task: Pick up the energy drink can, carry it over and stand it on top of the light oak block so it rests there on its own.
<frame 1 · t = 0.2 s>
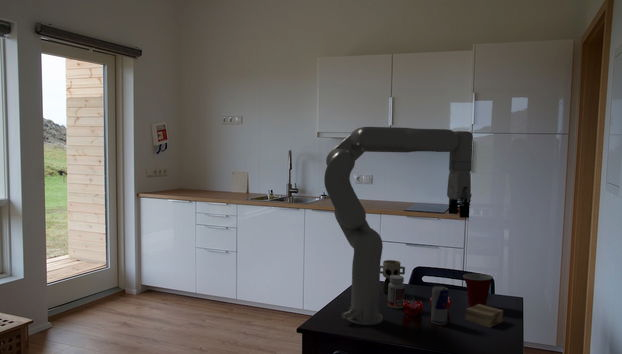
hand: (458, 215, 167), 36 cm above the table, tool pointing down, fingers open, 9 cm apart
energy drink: (438, 323, 163), on the table
character mug: (390, 293, 196), on the table
pill bottle: (395, 306, 179), on the table
plastic cup: (476, 306, 182), on the table
oak block: (484, 320, 166), on the table
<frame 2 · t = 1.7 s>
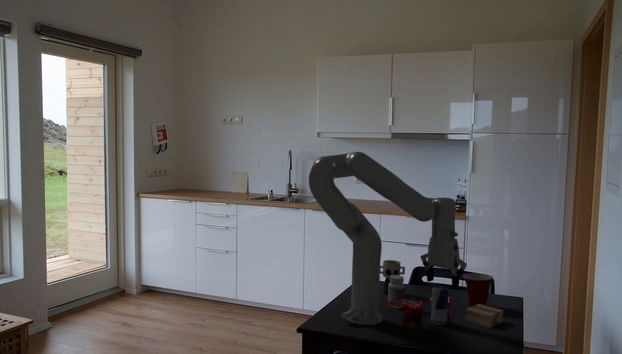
hand: (442, 283, 162), 13 cm above the table, tool pointing down, fingers open, 9 cm apart
nothing on the table moved.
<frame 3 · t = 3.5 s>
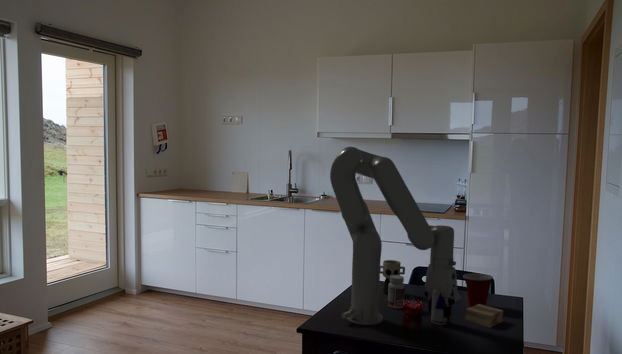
hand: (439, 313, 163), 3 cm above the table, tool pointing down, fingers closed on energy drink, 5 cm apart
energy drink: (439, 323, 163), on the table, touching gripper
everything else where it was.
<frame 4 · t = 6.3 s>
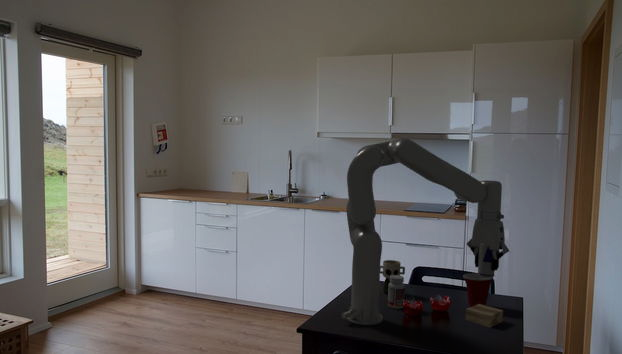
hand: (486, 267, 165), 19 cm above the table, tool pointing down, fingers closed on energy drink, 5 cm apart
energy drink: (485, 276, 165), point 16 cm above the table, touching gripper
everything else where it was.
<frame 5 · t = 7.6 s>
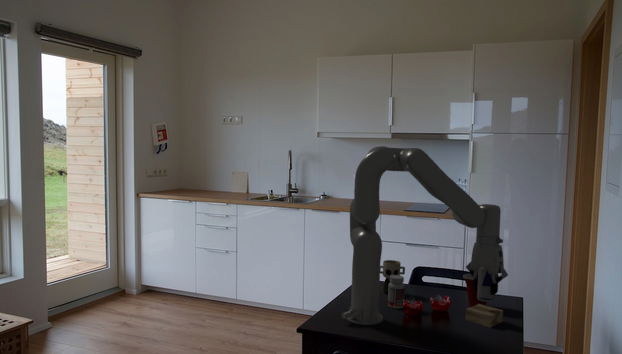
hand: (485, 291, 165), 10 cm above the table, tool pointing down, fingers closed on energy drink, 5 cm apart
energy drink: (485, 300, 165), point 7 cm above the table, touching gripper
everything else where it was.
when the fingers open (8 cm above the table, at t = 8.9 s): energy drink drops 1 cm, resting on oak block.
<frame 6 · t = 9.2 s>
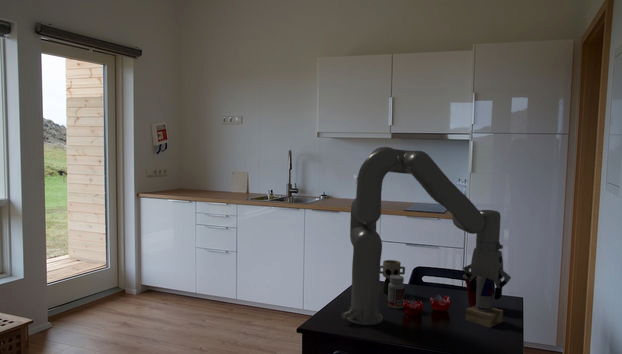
hand: (485, 295, 165), 9 cm above the table, tool pointing down, fingers open, 8 cm apart
energy drink: (484, 310, 166), point 4 cm above the table, touching oak block
everything else where it was.
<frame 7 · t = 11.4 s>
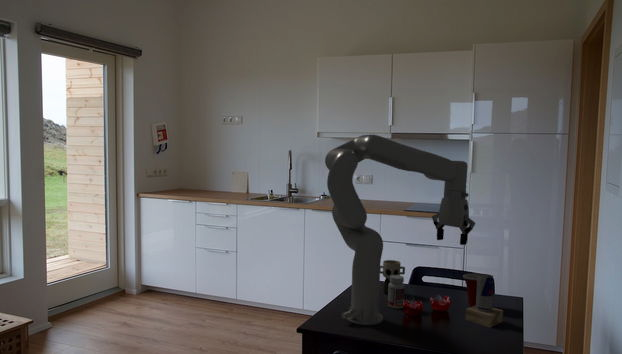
hand: (451, 242, 172), 26 cm above the table, tool pointing down, fingers open, 9 cm apart
nothing on the table moved.
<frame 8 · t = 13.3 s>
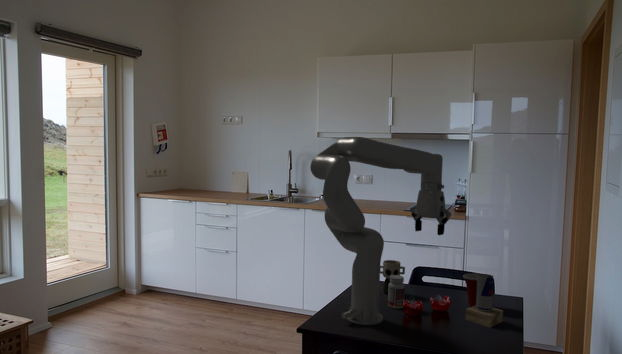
hand: (429, 232, 177), 28 cm above the table, tool pointing down, fingers open, 9 cm apart
nothing on the table moved.
at the end: energy drink inside the target area on the oak block (0.1 cm from its centre), point 3.8 cm above the oak block's base; energy drink tilted 0°; the gripper is holding nothing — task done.
